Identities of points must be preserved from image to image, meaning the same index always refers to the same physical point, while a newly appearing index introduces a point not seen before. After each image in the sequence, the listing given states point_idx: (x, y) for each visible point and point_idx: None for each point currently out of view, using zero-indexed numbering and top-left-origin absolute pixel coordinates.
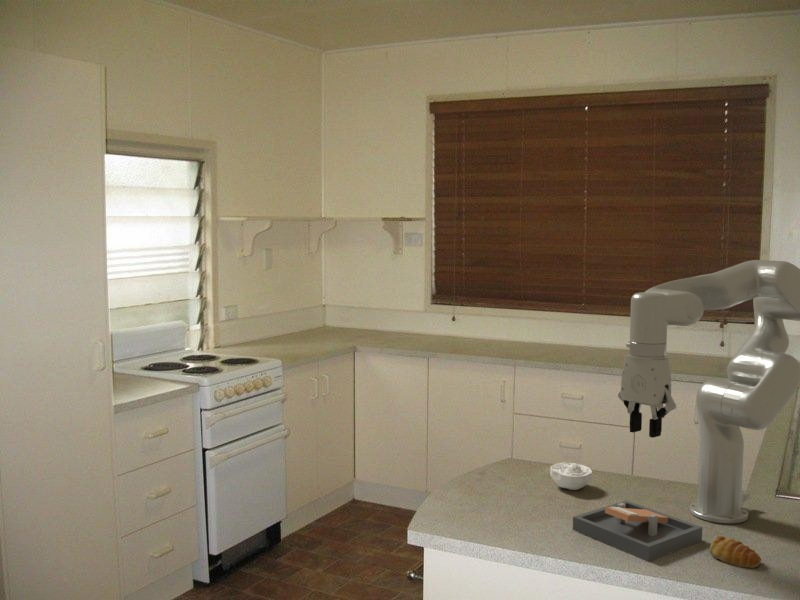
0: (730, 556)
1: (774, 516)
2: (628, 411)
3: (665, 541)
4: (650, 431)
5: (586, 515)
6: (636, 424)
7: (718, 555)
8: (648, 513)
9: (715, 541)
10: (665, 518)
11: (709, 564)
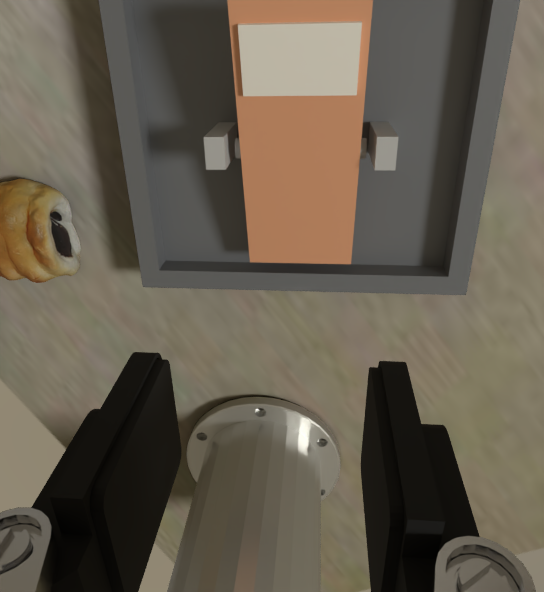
0: None
1: (179, 523)
2: (509, 572)
3: (111, 71)
4: (126, 383)
5: (491, 10)
6: (372, 462)
7: (16, 181)
8: (292, 211)
9: (32, 215)
10: (249, 246)
11: (14, 129)
